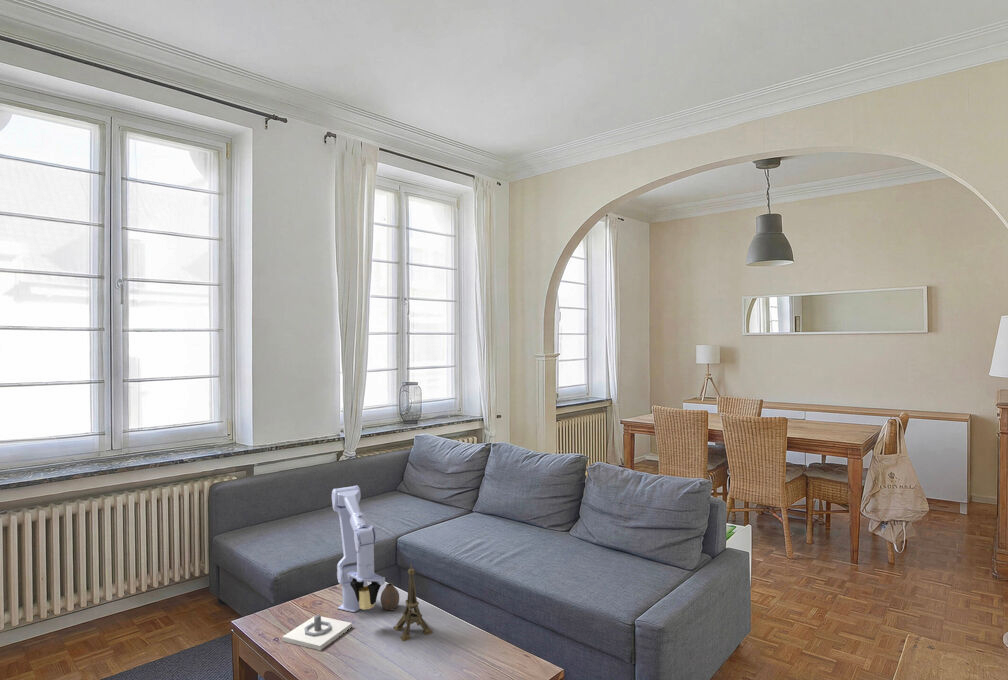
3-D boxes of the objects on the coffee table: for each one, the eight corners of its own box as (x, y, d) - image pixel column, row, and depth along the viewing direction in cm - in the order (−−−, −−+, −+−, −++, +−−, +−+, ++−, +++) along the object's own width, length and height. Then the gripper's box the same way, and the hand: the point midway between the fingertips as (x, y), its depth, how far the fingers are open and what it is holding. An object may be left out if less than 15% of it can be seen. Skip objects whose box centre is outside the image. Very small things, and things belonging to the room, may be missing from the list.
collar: (365, 601, 208) (364, 584, 208) (377, 603, 206) (376, 586, 206) (356, 607, 203) (355, 590, 203) (368, 610, 201) (367, 592, 201)
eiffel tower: (393, 627, 204) (391, 555, 204) (422, 620, 209) (420, 549, 209) (402, 641, 195) (400, 566, 194) (432, 633, 200) (430, 559, 199)
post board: (316, 619, 211) (315, 602, 211) (352, 627, 205) (351, 610, 205) (282, 641, 197) (281, 623, 197) (320, 650, 190) (319, 631, 190)
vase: (383, 614, 214) (383, 590, 214) (378, 606, 220) (377, 583, 220) (402, 609, 217) (401, 585, 217) (396, 602, 223) (395, 579, 223)
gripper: (341, 564, 204) (342, 603, 204) (375, 570, 198) (376, 610, 198) (354, 556, 210) (355, 594, 210) (388, 562, 204) (389, 601, 204)
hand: (366, 601), depth 205 cm, fingers closed on collar, 5 cm apart
